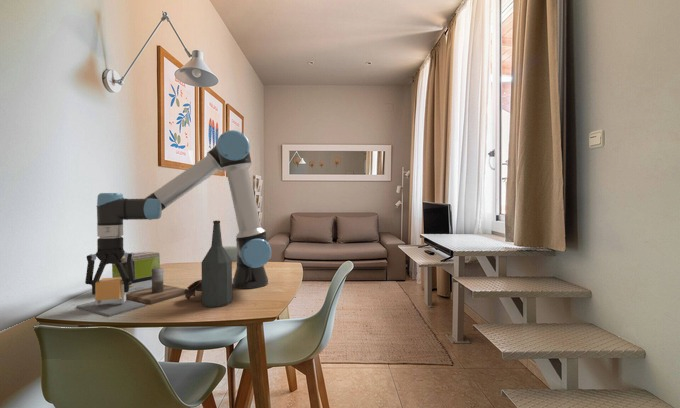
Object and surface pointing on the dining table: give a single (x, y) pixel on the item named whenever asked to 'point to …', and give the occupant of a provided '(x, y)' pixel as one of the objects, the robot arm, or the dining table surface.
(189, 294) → the brown animal figurine
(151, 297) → the post stand
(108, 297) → the orange foam cube
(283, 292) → the dining table surface
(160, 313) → the dining table surface
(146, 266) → the tea box
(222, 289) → the bottle
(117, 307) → the mat
